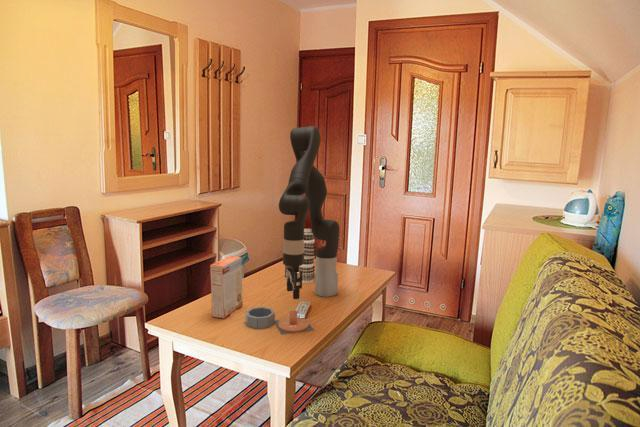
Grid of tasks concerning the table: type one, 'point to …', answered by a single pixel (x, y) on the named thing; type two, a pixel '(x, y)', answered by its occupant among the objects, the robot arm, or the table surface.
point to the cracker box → (226, 286)
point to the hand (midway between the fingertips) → (292, 294)
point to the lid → (293, 323)
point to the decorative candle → (308, 257)
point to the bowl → (260, 317)
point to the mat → (292, 332)
